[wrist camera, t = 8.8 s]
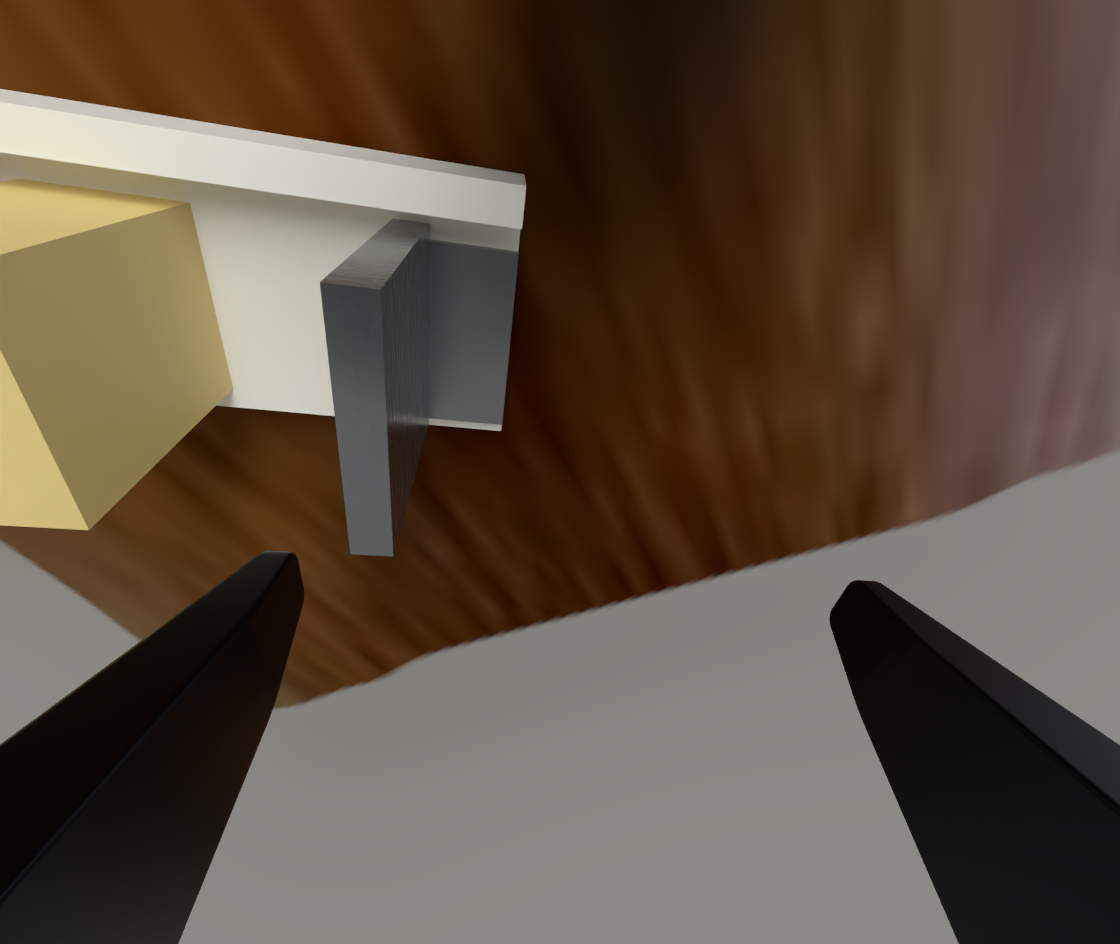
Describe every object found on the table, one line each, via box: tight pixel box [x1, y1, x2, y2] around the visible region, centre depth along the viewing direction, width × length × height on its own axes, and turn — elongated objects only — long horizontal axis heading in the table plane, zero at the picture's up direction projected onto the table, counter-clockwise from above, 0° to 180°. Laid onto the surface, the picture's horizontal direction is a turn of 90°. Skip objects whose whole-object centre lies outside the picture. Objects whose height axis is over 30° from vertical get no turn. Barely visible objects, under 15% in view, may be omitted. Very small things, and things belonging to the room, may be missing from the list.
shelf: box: [0, 89, 526, 431], centre depth 13 cm, size 20×8×7 cm, turn 82°
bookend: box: [320, 218, 519, 556], centre depth 13 cm, size 4×6×6 cm, turn 172°
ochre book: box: [0, 179, 233, 530], centre depth 12 cm, size 4×6×7 cm
